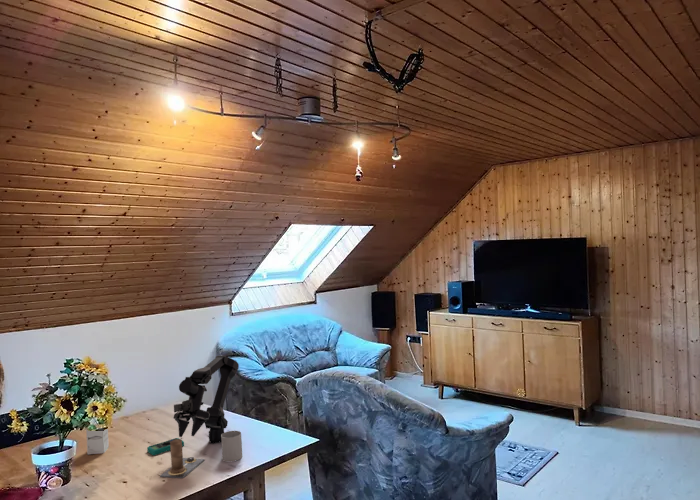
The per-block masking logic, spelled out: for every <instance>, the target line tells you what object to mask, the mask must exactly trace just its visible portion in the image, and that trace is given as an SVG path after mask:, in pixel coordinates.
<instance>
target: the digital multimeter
mask: <svg viewBox="0 0 700 500" xmlns="http://www.w3.org/2000/svg"><path fill="white" fill-rule="evenodd" d="M175 439H180V437H175V438H173V439H169V440H166V441H162V442H158V443H155V444H151V445H149V446H147V450H146V451H147V452H148V454H150V455H152V456H158V455H160V454H163V453H166V452H171V447H170V441H172V440H175ZM181 440H182V448H183V447H184V446H185V441H184V440H183V439H181Z"/></svg>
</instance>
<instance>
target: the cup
mask: <svg viewBox="0 0 700 500" xmlns="http://www.w3.org/2000/svg"><path fill="white" fill-rule="evenodd" d="M221 441H222V442H221V454H222V455H221V457H222V459H221V460H222V461H223V460H224V462H227V463H229V462H231V461H232V462H236V461H235V460H237V461H239V460H240V459H242V458H243V444H242V443H243V442H242V432H241V431H240V430H228V431H224V433H223V434H222V435H221Z"/></svg>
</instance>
